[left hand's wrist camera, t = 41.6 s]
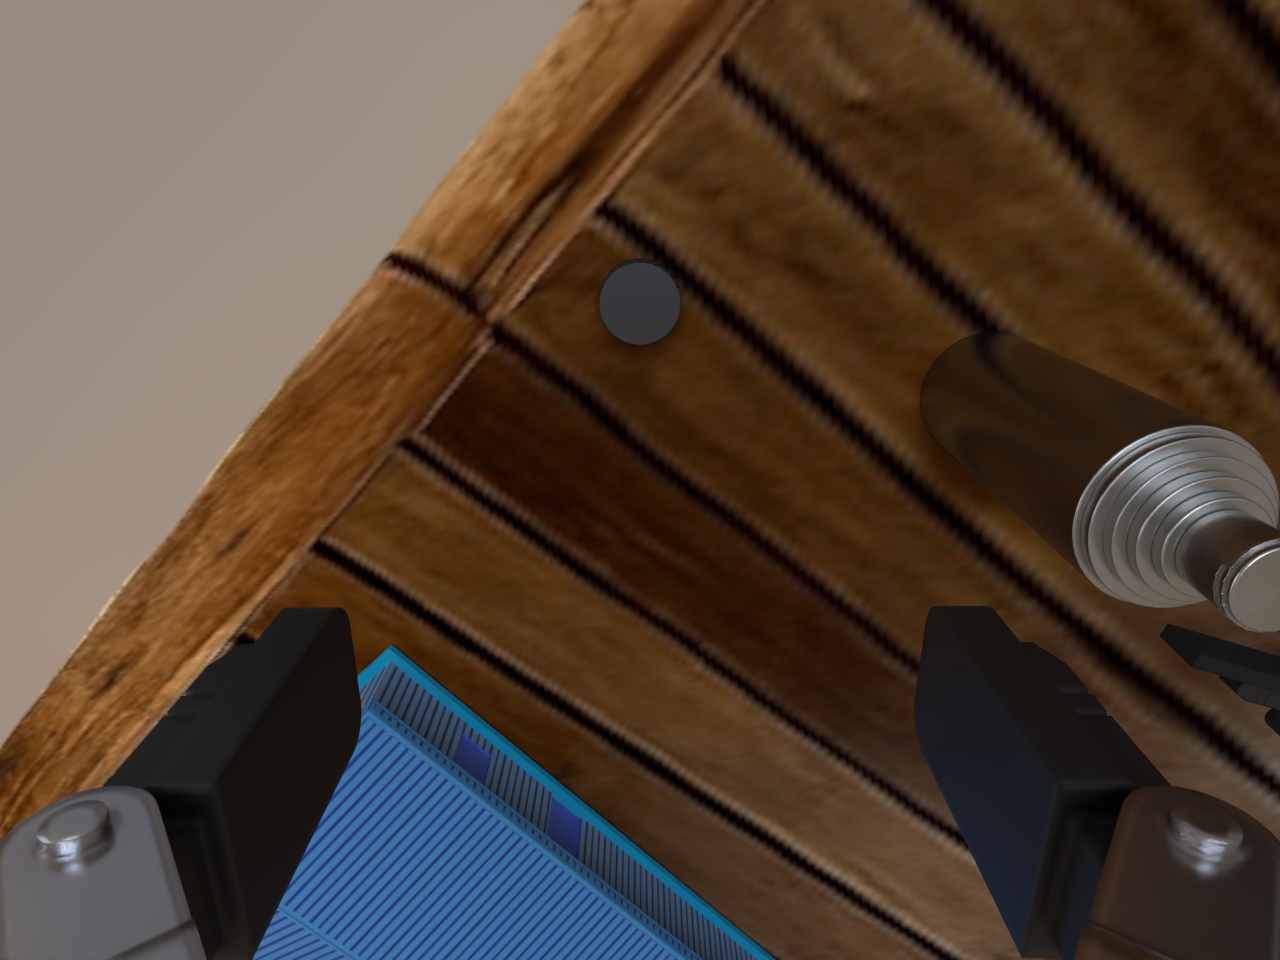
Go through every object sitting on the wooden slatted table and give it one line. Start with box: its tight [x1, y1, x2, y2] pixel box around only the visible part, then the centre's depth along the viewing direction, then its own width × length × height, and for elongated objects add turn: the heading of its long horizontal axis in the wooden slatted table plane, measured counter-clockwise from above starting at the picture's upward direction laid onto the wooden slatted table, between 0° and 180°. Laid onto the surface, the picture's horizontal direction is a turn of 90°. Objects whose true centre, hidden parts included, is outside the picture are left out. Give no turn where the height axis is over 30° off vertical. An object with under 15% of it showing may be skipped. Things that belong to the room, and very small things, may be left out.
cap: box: [599, 258, 681, 345], centre depth 43 cm, size 4×4×2 cm
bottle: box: [921, 332, 1280, 632], centre depth 35 cm, size 7×7×22 cm
